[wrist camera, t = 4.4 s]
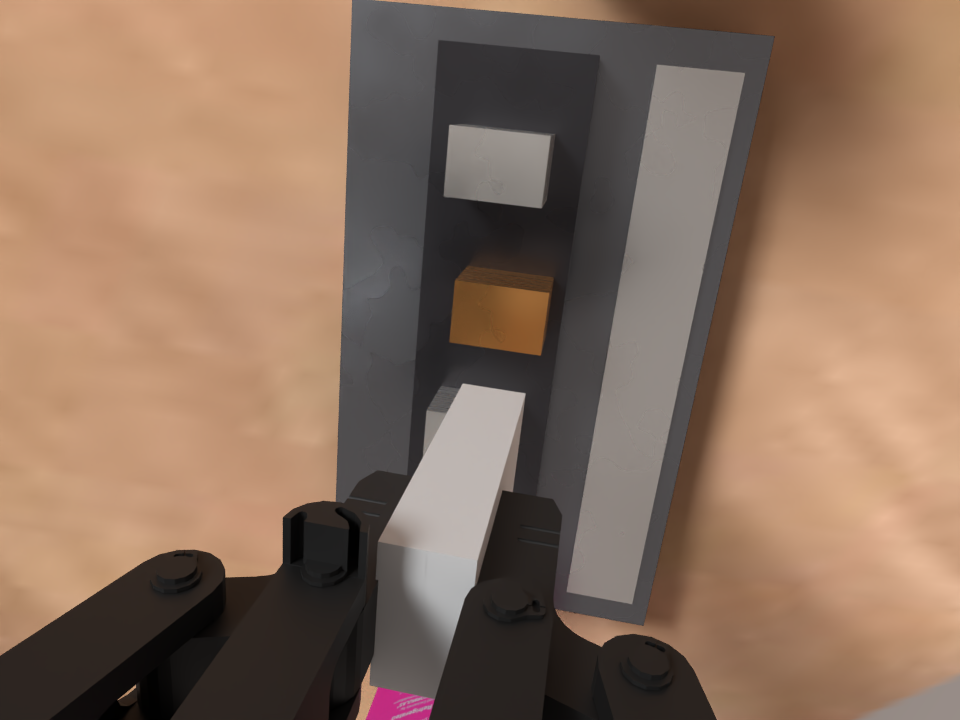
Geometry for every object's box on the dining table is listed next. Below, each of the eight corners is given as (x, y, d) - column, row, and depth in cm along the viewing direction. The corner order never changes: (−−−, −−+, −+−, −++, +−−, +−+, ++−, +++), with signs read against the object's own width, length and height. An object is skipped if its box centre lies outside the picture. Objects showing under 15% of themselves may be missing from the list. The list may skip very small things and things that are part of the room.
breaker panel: (640, 591, 28) (649, 699, 23) (350, 538, 29) (297, 627, 24) (759, 43, 21) (810, 19, 16) (373, 8, 22) (305, -24, 17)
